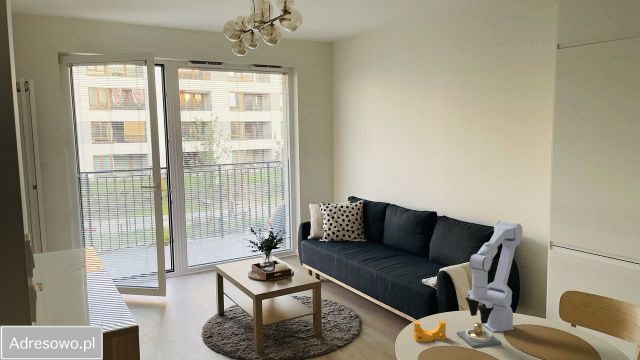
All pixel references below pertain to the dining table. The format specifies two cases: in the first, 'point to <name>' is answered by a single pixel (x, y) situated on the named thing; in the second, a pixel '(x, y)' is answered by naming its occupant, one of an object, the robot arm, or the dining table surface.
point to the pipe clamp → (429, 332)
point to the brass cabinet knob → (478, 331)
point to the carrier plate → (478, 339)
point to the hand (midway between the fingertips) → (478, 319)
